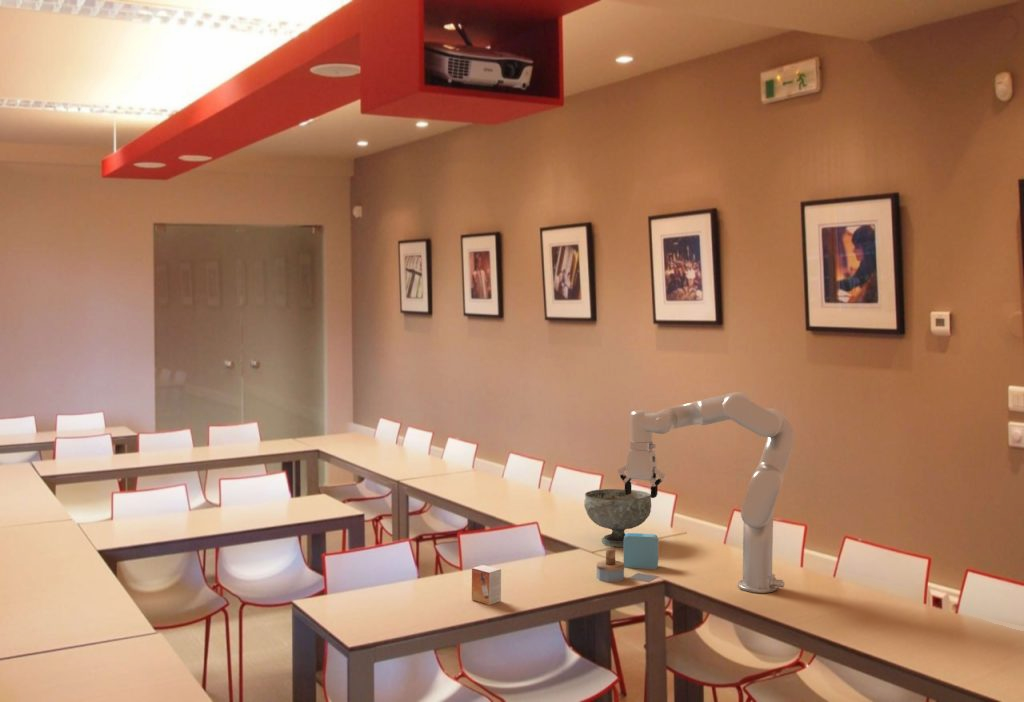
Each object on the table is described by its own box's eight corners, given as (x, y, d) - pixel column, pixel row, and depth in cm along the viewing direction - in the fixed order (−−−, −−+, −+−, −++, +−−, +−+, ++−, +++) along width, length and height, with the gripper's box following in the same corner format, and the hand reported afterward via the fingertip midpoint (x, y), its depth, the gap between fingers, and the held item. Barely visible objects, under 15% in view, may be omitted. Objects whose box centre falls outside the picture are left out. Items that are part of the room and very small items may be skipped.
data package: (658, 567, 351) (658, 534, 351) (657, 570, 347) (657, 537, 346) (624, 565, 354) (624, 532, 353) (623, 569, 349) (623, 535, 348)
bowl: (627, 578, 337) (627, 565, 336) (615, 585, 330) (615, 571, 329) (605, 574, 342) (605, 562, 341) (593, 580, 334) (593, 567, 334)
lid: (629, 565, 337) (629, 548, 336) (616, 572, 329) (616, 554, 328) (605, 561, 342) (605, 544, 342) (591, 568, 334) (591, 550, 334)
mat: (658, 578, 337) (659, 576, 337) (648, 583, 331) (648, 582, 331) (638, 574, 342) (638, 572, 342) (627, 580, 335) (627, 578, 335)
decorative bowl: (595, 551, 370) (597, 499, 370) (574, 537, 395) (576, 487, 395) (660, 550, 377) (662, 498, 376) (636, 535, 402) (637, 487, 401)
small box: (471, 600, 314) (471, 567, 313) (483, 596, 318) (483, 564, 317) (489, 605, 308) (489, 572, 308) (501, 601, 313) (501, 568, 312)
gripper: (669, 447, 335) (668, 496, 336) (623, 443, 344) (623, 491, 345) (659, 450, 329) (659, 500, 330) (613, 445, 338) (613, 494, 339)
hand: (640, 495), depth 337 cm, fingers open, 9 cm apart
